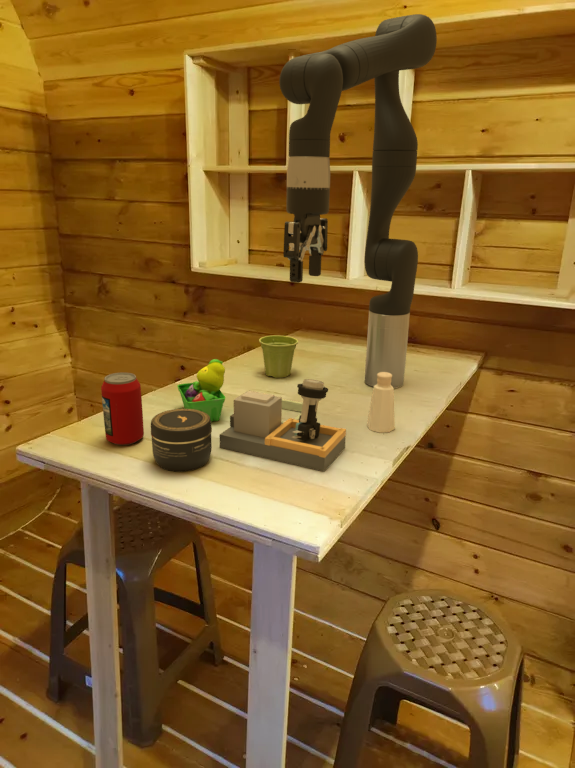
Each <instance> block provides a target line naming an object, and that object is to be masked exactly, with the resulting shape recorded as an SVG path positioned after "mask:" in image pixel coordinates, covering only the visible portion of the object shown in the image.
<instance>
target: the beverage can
mask: <svg viewBox="0 0 575 768" xmlns="http://www.w3.org/2000/svg"><path fill="white" fill-rule="evenodd" d="M100 390H101V391H100V392H101V401H102V402H101V403H102V411H103V412H102V414H103V423H104V432H105V433H104V434H105V439H106V440H107V442H110V443H112V444H114V445H116V446H128V445H132V444H134V443H135V444H136V443H137V442H138V441H140V440H141V439H142V438H144V435H145V431H144V415H143V414H144V413H143V411H144V410H143V400H142V398H143V397H142V387H141V383H140V382H139V379H138V378H137V376H136V374H134V373H131V372H114V373H110V374H108V375H106V376H105V377H104V381H103V383H102V385H101V389H100Z"/></svg>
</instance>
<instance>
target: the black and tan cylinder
mask: <svg viewBox="0 0 575 768" xmlns="http://www.w3.org/2000/svg"><path fill="white" fill-rule="evenodd" d="M328 392H329V388H327V387H325V382H324V381H322V380H317V379H309V378H305V379H303V380H302V383H298V384H297V394H298V395H299V396H300V397H301V398H302V403H303V406H302V412H300V413H301V415H300V417H299V423H296V428H295V431H293V433H295V435H294V436H293V437H292V438H297V439H300V440H307V439H314V438H318V437H319V431H320V425H321V423H320V422H318V418H317V413H318V405H319V401H322V400H323V399H325V398H326V397H327V393H328Z"/></svg>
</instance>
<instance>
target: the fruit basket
mask: <svg viewBox="0 0 575 768" xmlns="http://www.w3.org/2000/svg"><path fill="white" fill-rule="evenodd" d="M223 364H224V362H223V361H222V360H220V359H217V358H214V359H211V360H210V361H209V362H208V365H206V366H204V367H203V368H201V369H199V370H198V372H196V373H197V374H196V378H197V380H196V381H193V382H186V383H181V384H178V385H177V386H176V387H177V389H178V392H179V393H180V398H181V400H182V404H183V407H184V408H183V409H195V410H200V411H203V412H205V413H206V414H208V415H209V417H210V419H211V423H213V422H218V421H219V420H220V418H221V414H222V410H223V406H224V403H225V400H226V395H224V393H223V392H222V391H221V388H222V387H223V386H224V383H225V379H224V378H225V376H224V375H225V373H226V368H225V367H224V365H223Z"/></svg>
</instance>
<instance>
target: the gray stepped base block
mask: <svg viewBox="0 0 575 768" xmlns="http://www.w3.org/2000/svg"><path fill="white" fill-rule="evenodd" d="M282 399H283V398H282V397H281V396H275V394H270V393H264V392H259V391H255V390H249V391H248V390H246V391H245V392H244V393H242V394H240V395H238V396H237V397H235V398H233V413H232V414H231V415H229V427H228V428H227V429H226V430H224V431H223V432H221V433H220V434H219V448H221V449H225V450H229V451H232V452H233V451H234V452H238V453H242V454H247V455H252V456H255V457H260V458H264V459H269V460H273V461H277V462H280V463H281V462H282V463H286V464H290V465H295V466H299V467H303V468H307V469H312V470H315V471H321V472H325V471H326V470H327V469H328V468H329V467H331V466H330V465H332V464H333V462H334V461H335V460H336V459H337V458H338V457H339V456H340V455H341V453H342V452H343V451H344V450H345V448H346V438H347V437H346V435H347V428H343V427H340V428H339V427H335V426H329V425H325V424H324V425H323V424H320V431H319V437H318V438H314V439H307V440H300V439H297V438H292V437H293V436H294V435H295V433H293V431H295V428H296V423H299V420H295V419H294V418H293V417H290V418H288V419H287V420H285V421H283V422H284V423H282V422H281V421H282V417H283V416H282V411H283V409H282Z"/></svg>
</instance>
